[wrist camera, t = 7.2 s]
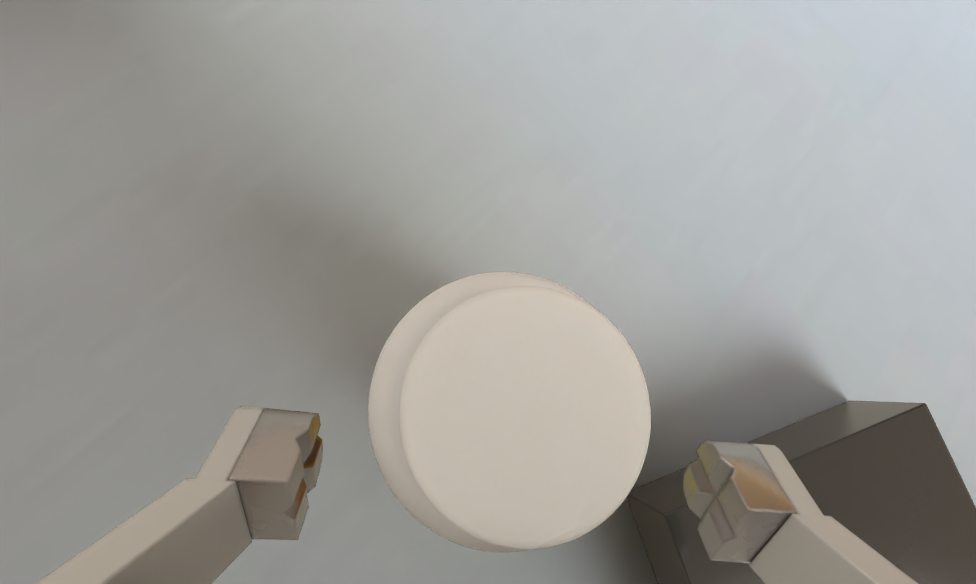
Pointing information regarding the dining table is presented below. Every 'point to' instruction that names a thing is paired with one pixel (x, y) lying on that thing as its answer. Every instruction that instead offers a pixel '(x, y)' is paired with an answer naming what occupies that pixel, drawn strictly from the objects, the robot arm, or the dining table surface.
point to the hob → (841, 496)
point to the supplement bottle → (508, 413)
